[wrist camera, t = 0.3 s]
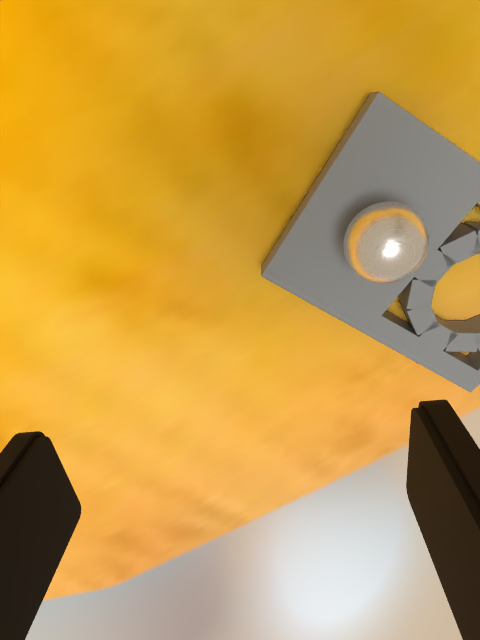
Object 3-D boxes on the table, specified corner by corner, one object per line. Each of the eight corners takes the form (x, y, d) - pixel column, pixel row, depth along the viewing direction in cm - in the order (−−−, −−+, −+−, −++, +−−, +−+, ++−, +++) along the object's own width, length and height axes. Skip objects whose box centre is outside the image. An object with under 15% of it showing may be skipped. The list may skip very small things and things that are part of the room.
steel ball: (368, 179, 30) (390, 194, 25) (429, 218, 32) (462, 241, 26) (322, 245, 33) (333, 271, 28) (380, 279, 34) (401, 310, 29)
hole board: (370, 93, 30) (378, 91, 28) (594, 249, 34) (617, 258, 32) (261, 266, 37) (261, 276, 35) (459, 377, 41) (470, 392, 39)
